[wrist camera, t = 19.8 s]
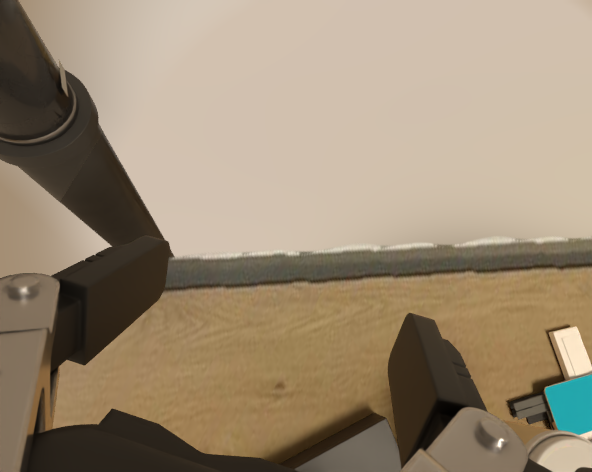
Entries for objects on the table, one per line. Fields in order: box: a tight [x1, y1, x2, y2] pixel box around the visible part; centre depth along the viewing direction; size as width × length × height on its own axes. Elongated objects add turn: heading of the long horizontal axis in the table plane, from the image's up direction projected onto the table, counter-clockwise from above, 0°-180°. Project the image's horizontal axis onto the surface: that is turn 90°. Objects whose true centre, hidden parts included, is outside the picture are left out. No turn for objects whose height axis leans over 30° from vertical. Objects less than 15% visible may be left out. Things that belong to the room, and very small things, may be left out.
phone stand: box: [509, 327, 592, 442], centre depth 39 cm, size 20×12×2 cm, turn 101°
